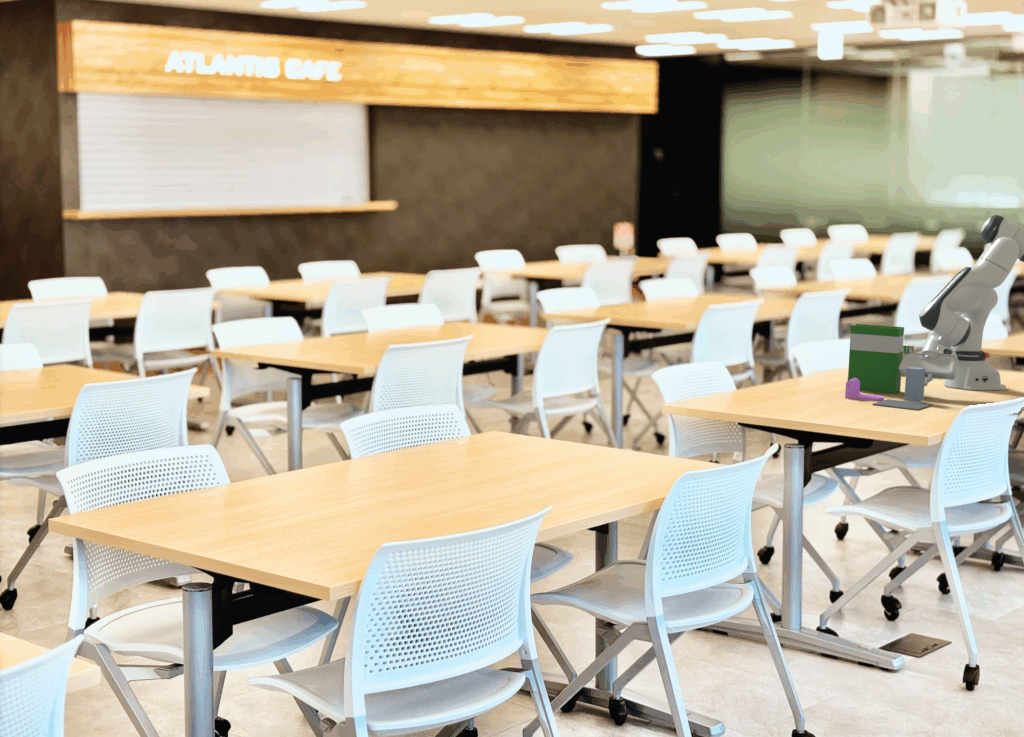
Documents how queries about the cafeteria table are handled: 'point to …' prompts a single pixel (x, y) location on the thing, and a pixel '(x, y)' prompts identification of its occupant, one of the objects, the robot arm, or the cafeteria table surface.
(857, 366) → the hardback book
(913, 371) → the slate block
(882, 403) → the mat
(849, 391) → the bracket
